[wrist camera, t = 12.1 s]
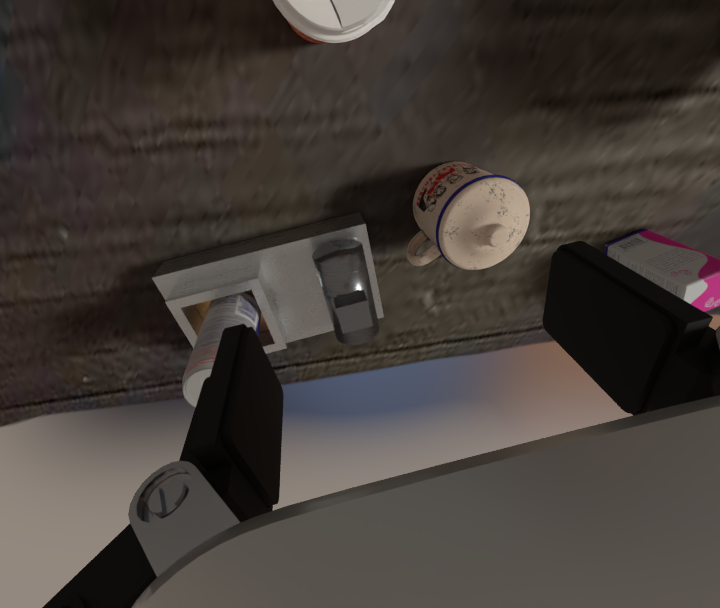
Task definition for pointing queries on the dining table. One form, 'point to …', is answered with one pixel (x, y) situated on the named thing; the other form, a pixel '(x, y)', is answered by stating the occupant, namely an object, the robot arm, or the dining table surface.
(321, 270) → the white desk organizer
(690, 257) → the supplement box
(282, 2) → the paper cup
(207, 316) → the energy drink
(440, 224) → the teacup with lid
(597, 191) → the dining table surface
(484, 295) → the dining table surface
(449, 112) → the dining table surface
